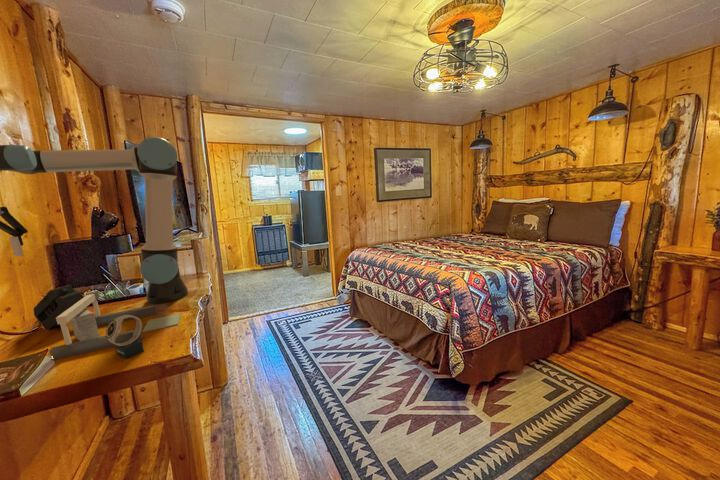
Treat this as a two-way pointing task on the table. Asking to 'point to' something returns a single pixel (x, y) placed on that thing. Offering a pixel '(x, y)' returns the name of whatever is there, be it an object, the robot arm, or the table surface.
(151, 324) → the mat
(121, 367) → the table surface
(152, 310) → the rails
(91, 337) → the medicine box
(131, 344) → the watch
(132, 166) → the robot arm
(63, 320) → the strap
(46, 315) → the tool
